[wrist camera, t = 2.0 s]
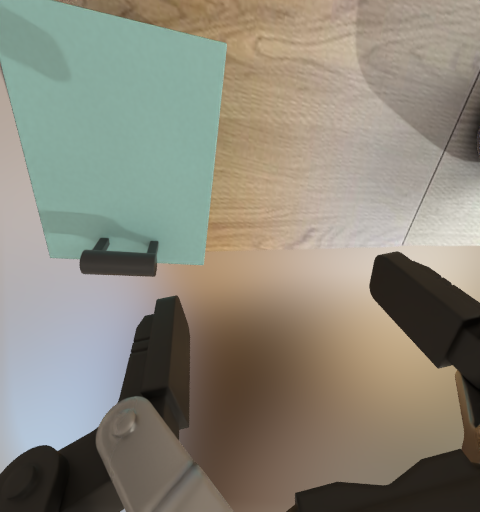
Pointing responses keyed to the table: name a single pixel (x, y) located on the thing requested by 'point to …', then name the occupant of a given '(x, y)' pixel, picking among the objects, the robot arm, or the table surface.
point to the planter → (478, 141)
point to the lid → (114, 133)
